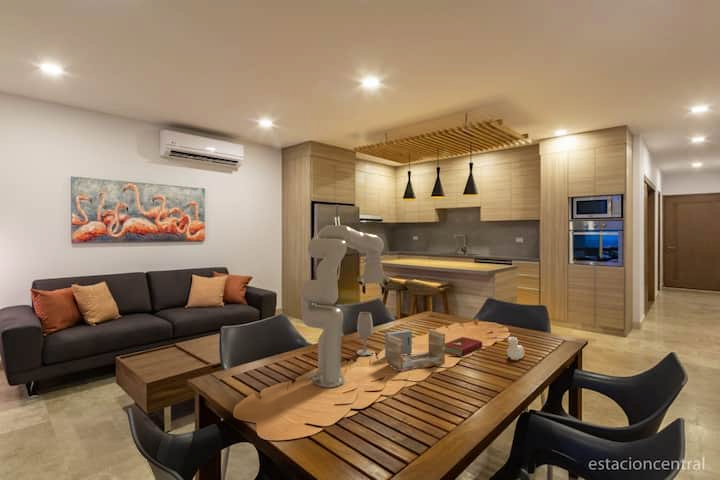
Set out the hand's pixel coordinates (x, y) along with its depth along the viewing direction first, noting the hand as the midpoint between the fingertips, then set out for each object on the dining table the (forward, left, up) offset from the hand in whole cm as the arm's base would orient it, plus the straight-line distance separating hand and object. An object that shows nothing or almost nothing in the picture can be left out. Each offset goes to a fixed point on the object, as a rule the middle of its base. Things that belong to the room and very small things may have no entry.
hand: (373, 293), depth 197 cm
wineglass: (-6, -2, -30) cm, 31 cm away
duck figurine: (+58, -41, -30) cm, 77 cm away
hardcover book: (+44, -19, -31) cm, 57 cm away
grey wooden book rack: (+9, -26, -30) cm, 41 cm away
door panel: (+8, -12, -30) cm, 33 cm away
